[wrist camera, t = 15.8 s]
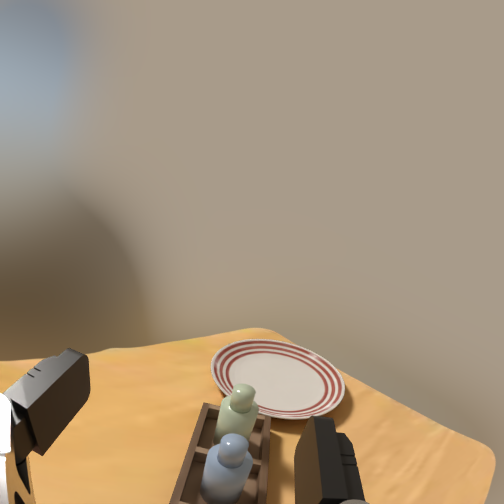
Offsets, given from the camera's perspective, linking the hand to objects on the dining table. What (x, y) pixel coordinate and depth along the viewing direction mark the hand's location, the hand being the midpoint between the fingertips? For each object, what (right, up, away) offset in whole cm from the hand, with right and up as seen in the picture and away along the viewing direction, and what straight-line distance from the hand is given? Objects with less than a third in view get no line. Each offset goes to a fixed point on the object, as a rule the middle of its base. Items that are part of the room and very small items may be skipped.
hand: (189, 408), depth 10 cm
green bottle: (-1, -23, +32) cm, 39 cm away
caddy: (-2, -25, +27) cm, 37 cm away
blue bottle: (-2, -25, +22) cm, 34 cm away
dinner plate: (+7, -22, +51) cm, 56 cm away
